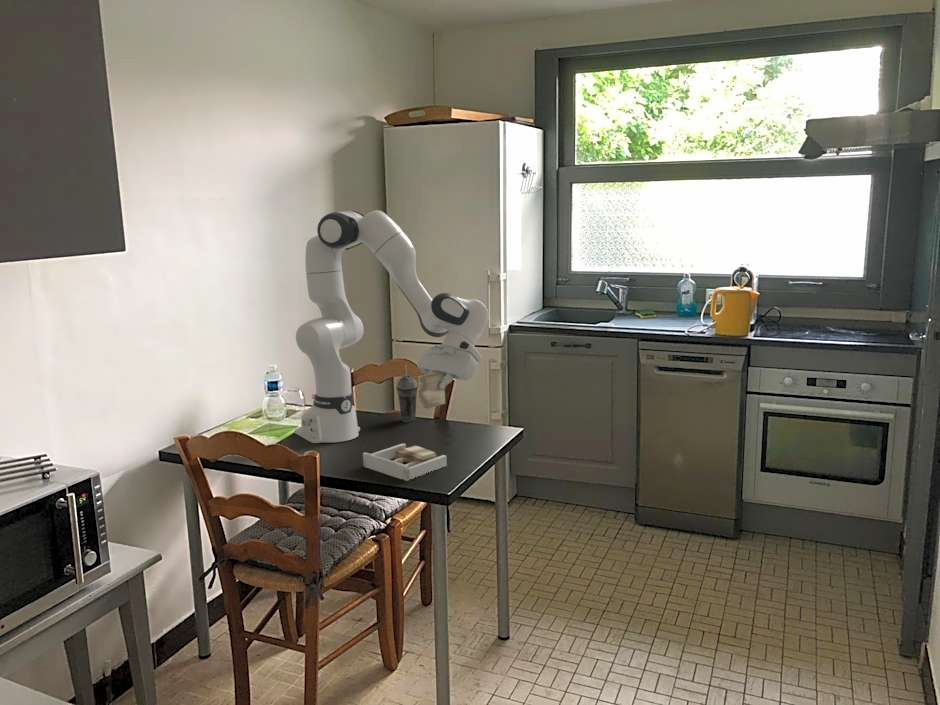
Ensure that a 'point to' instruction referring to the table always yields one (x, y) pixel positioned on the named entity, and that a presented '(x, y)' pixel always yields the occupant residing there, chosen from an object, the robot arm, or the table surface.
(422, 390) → the pale wooden block
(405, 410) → the beverage cup
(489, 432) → the table surface
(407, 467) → the tray
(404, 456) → the offcut stack
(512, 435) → the table surface
